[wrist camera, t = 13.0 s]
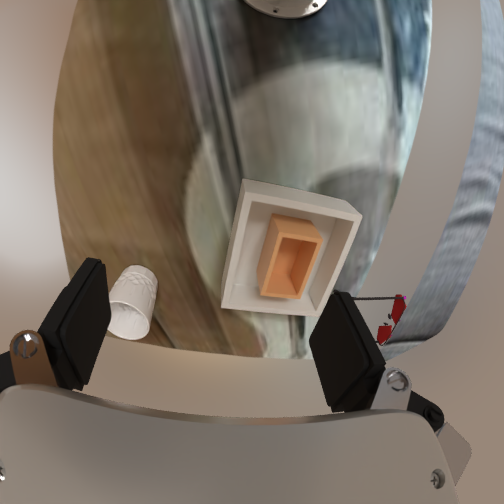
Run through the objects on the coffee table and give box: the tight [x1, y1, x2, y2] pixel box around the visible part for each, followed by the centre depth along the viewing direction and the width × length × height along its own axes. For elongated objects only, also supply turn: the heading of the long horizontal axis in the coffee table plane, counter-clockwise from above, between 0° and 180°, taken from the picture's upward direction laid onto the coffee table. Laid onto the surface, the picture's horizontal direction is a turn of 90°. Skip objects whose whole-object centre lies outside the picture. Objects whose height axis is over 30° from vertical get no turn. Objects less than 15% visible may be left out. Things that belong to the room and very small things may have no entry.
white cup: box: [108, 265, 158, 340], centre depth 39 cm, size 8×8×10 cm
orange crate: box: [256, 213, 323, 299], centre depth 39 cm, size 10×6×6 cm, turn 168°
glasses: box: [334, 290, 407, 346], centre depth 51 cm, size 14×16×5 cm
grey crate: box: [221, 178, 363, 317], centre depth 40 cm, size 18×16×6 cm
